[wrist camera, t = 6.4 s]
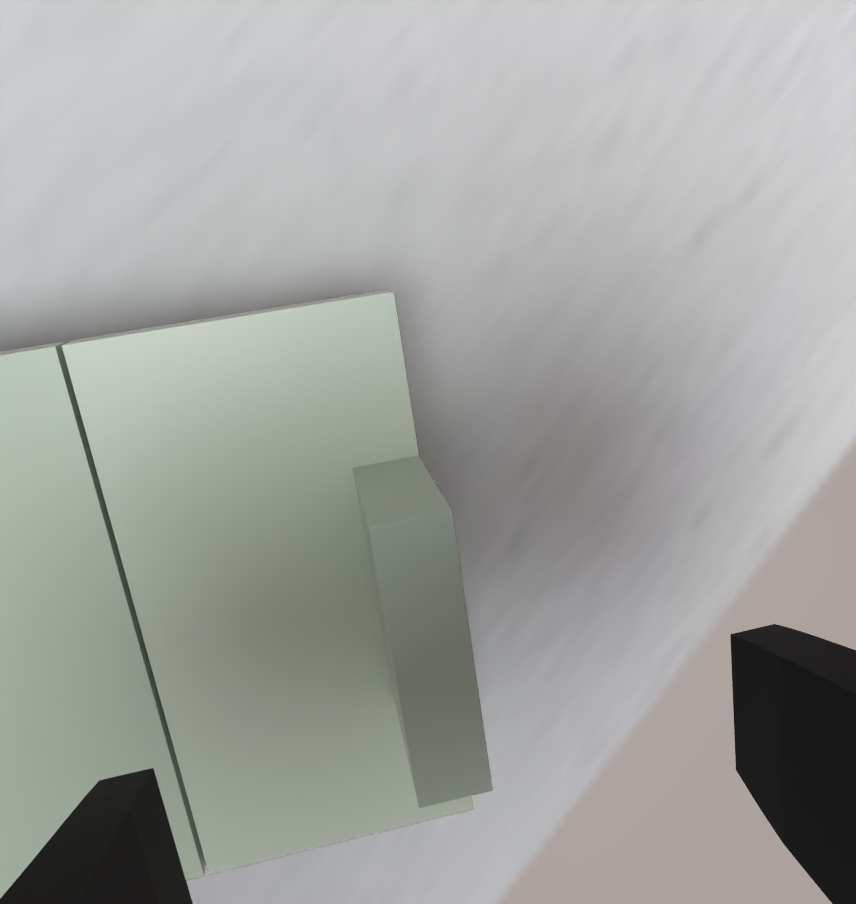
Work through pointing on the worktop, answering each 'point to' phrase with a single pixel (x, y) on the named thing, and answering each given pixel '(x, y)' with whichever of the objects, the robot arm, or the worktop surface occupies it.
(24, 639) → the lid
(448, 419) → the worktop surface
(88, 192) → the worktop surface
